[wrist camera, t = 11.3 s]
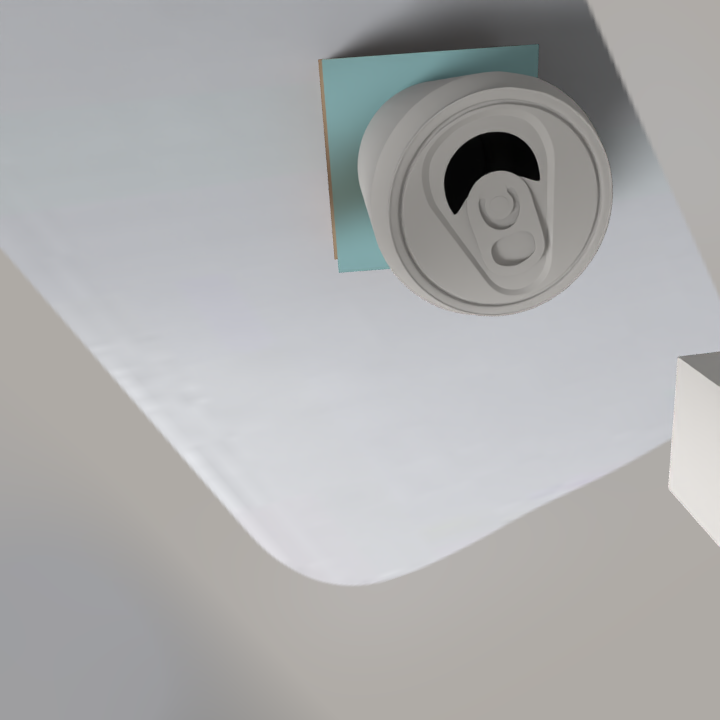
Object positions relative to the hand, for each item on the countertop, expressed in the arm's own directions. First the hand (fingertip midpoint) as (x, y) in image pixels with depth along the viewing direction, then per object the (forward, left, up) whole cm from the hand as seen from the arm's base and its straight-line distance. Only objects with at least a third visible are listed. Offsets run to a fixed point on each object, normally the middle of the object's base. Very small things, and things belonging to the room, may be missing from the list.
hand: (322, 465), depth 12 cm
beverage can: (-3, +5, -18) cm, 19 cm away
